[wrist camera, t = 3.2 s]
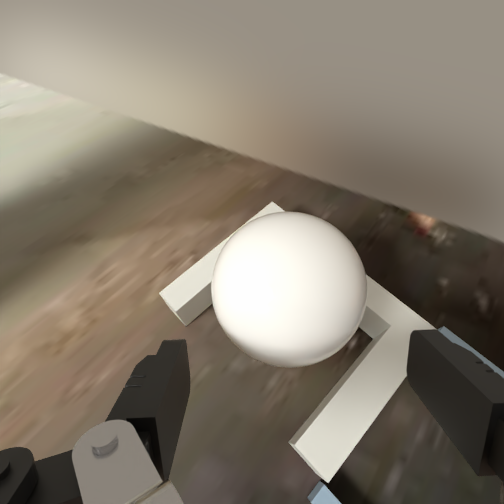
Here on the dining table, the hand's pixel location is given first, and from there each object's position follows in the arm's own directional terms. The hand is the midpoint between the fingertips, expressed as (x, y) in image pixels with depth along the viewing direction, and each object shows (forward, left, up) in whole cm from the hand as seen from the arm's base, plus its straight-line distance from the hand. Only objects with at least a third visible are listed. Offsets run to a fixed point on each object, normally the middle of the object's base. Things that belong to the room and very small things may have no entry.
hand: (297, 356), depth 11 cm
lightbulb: (-2, +2, -9) cm, 9 cm away
